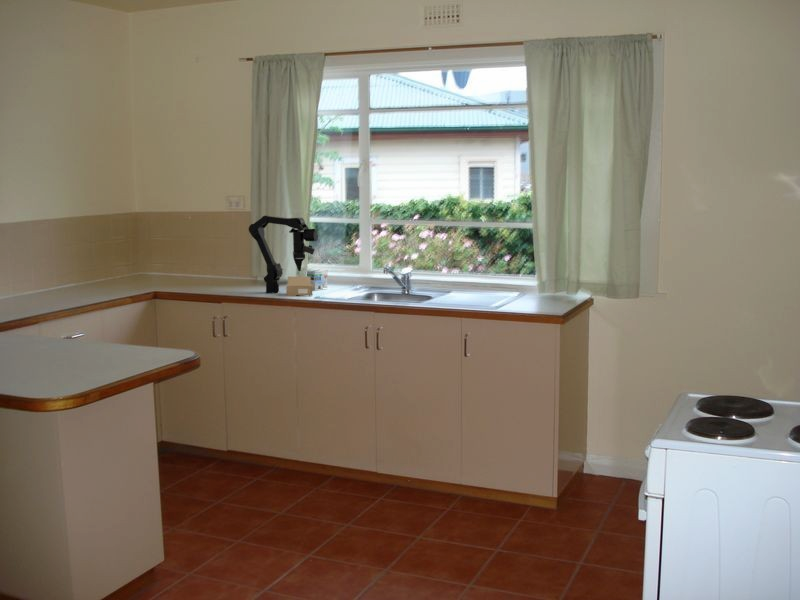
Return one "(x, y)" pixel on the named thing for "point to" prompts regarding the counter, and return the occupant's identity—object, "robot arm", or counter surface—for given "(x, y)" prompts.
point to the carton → (299, 290)
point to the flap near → (299, 281)
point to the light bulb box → (318, 278)
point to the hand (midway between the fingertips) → (299, 270)
